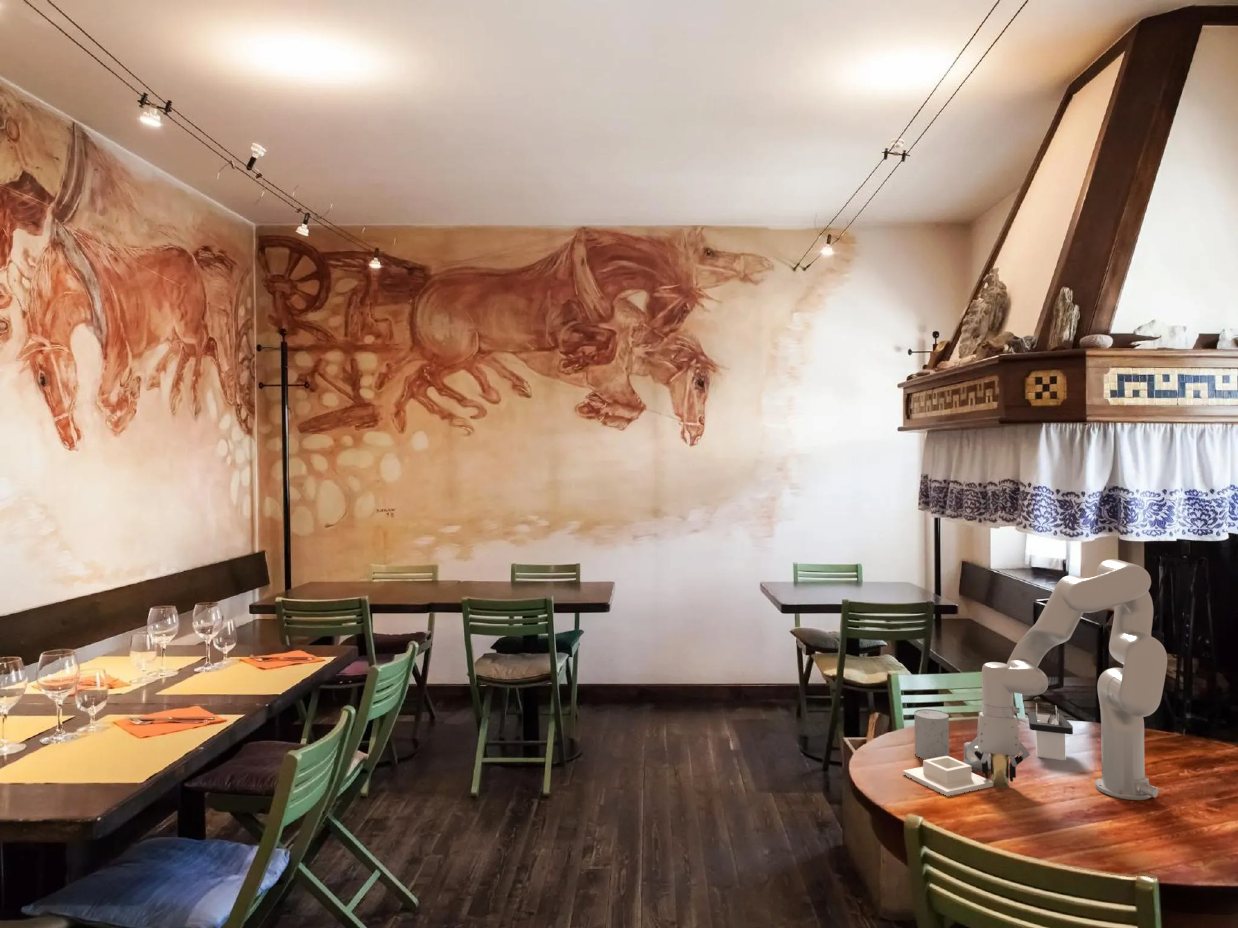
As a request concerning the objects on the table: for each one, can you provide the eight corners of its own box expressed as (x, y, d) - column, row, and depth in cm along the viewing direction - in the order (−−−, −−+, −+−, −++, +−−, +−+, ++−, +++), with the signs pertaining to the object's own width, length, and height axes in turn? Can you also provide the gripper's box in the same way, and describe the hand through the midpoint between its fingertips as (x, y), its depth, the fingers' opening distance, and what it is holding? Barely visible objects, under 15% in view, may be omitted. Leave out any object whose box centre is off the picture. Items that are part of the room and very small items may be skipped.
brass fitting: (1012, 786, 213) (1012, 752, 213) (1000, 789, 212) (1000, 755, 212) (999, 780, 218) (998, 747, 218) (987, 783, 216) (986, 749, 216)
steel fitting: (995, 769, 226) (995, 747, 226) (977, 773, 223) (977, 751, 223) (976, 761, 232) (976, 740, 232) (958, 764, 229) (958, 743, 229)
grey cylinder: (943, 750, 241) (943, 709, 241) (953, 762, 231) (953, 719, 231) (910, 749, 242) (910, 708, 242) (919, 761, 232) (919, 718, 232)
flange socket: (993, 786, 214) (993, 768, 214) (947, 796, 208) (946, 778, 208) (947, 765, 228) (947, 749, 229) (903, 774, 222) (902, 757, 222)
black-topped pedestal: (1108, 777, 219) (1107, 728, 219) (1001, 763, 230) (1000, 716, 230) (1096, 744, 245) (1095, 700, 245) (1000, 733, 256) (1000, 691, 256)
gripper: (1032, 709, 215) (1033, 777, 215) (962, 703, 221) (963, 769, 221) (1035, 717, 208) (1036, 788, 208) (963, 710, 214) (964, 778, 214)
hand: (998, 777), depth 215 cm, fingers open, 5 cm apart
